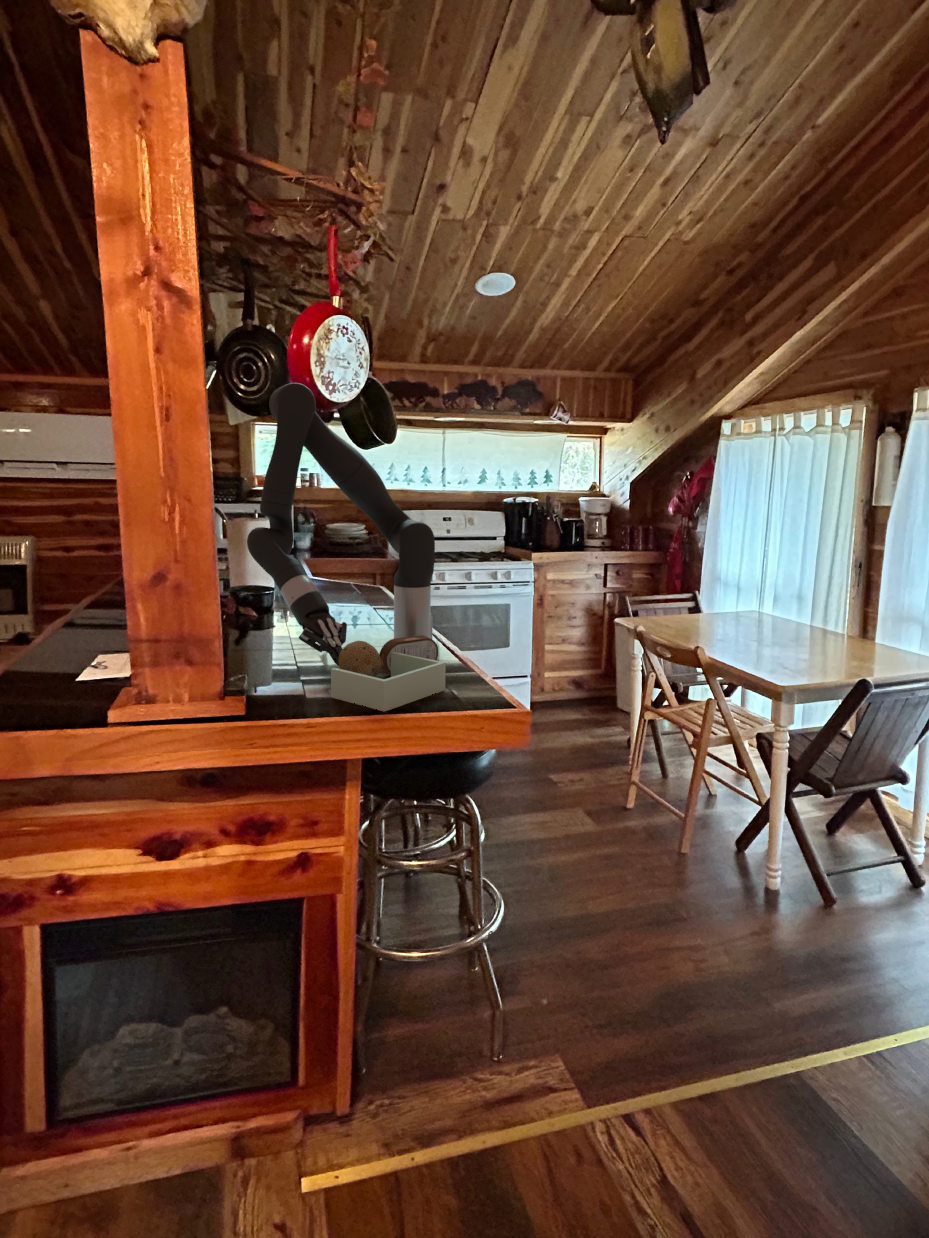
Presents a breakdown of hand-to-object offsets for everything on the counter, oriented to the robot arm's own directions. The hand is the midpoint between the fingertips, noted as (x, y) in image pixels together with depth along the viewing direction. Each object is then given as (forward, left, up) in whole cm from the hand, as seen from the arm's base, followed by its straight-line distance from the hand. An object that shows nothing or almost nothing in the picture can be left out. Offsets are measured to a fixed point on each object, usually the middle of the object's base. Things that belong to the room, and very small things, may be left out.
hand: (343, 663), depth 163 cm
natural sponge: (0, +5, -4) cm, 7 cm away
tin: (-15, +6, -5) cm, 17 cm away
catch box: (0, +13, -4) cm, 14 cm away
